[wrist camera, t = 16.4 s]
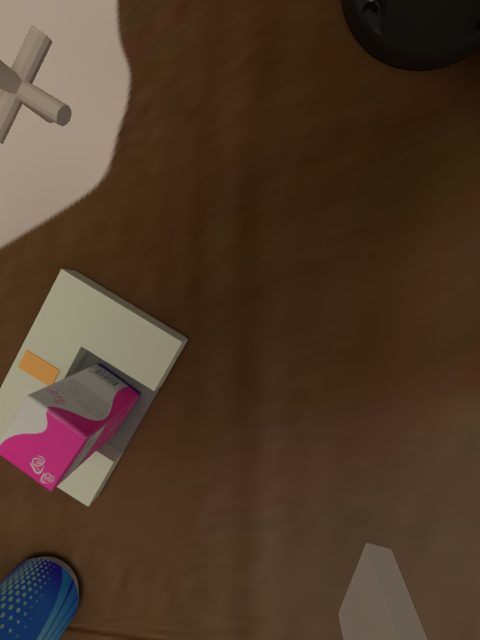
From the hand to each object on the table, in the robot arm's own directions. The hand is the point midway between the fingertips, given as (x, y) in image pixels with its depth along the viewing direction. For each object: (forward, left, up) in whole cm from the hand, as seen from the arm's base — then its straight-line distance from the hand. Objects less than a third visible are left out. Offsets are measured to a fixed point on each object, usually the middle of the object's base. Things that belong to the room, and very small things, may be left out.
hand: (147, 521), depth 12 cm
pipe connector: (+24, -21, -28) cm, 42 cm away
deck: (+16, +6, -27) cm, 32 cm away
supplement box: (+13, +7, -27) cm, 31 cm away
